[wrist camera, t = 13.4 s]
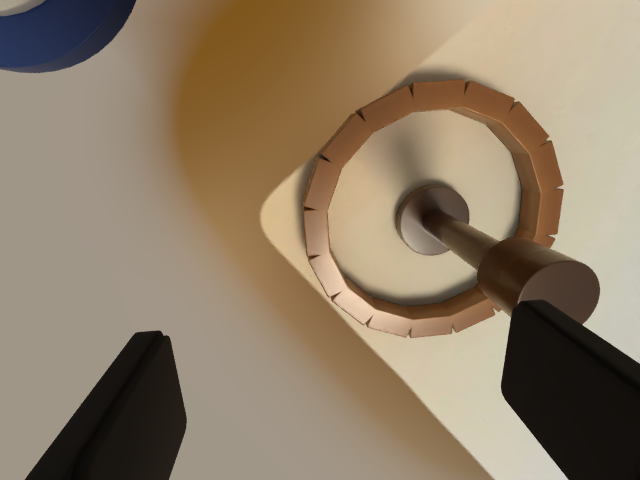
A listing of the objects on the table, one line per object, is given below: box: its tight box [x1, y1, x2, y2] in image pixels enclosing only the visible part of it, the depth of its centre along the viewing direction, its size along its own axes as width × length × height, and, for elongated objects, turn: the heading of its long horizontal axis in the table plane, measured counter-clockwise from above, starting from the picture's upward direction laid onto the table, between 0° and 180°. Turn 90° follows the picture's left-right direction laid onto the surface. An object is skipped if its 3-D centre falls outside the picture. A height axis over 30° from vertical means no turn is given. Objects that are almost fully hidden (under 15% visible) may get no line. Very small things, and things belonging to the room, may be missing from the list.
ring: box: [302, 79, 563, 338], centre depth 24 cm, size 18×18×2 cm
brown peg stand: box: [396, 185, 600, 325], centre depth 19 cm, size 5×5×13 cm
